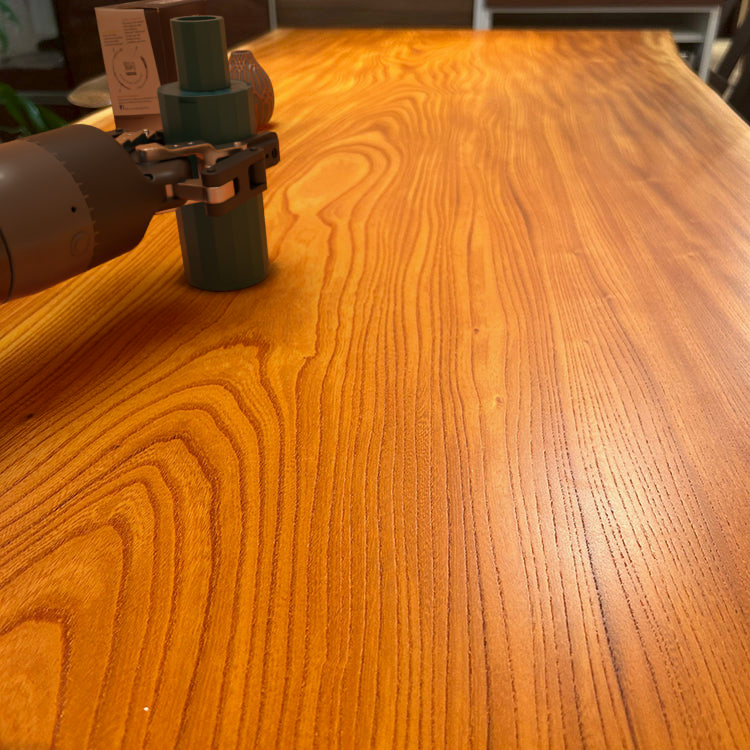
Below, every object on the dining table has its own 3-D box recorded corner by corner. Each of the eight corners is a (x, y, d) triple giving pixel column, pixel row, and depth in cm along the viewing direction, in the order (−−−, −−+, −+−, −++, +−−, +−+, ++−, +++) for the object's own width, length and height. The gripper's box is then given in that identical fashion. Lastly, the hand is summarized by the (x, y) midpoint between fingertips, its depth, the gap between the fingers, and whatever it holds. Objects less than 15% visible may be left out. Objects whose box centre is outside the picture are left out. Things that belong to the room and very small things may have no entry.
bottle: (172, 288, 54) (129, 24, 46) (204, 256, 59) (170, 12, 51) (254, 293, 53) (226, 24, 45) (279, 260, 58) (258, 13, 50)
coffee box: (185, 199, 71) (157, 6, 63) (125, 194, 73) (89, 6, 65) (229, 171, 79) (209, -4, 71) (173, 167, 81) (147, -4, 72)
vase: (232, 137, 91) (223, 57, 87) (212, 125, 97) (203, 50, 92) (285, 129, 94) (280, 52, 90) (263, 118, 100) (257, 45, 95)
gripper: (123, 158, 36) (319, 92, 49) (-70, 127, 42) (148, 76, 55) (150, 304, 40) (325, 208, 52) (-30, 256, 46) (165, 181, 59)
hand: (234, 141), depth 53 cm, fingers closed on bottle, 6 cm apart
